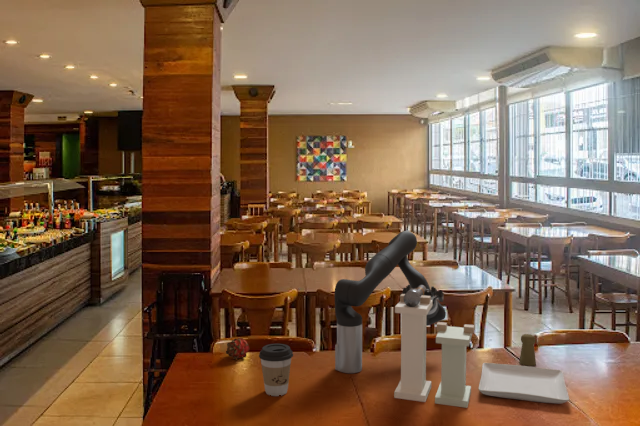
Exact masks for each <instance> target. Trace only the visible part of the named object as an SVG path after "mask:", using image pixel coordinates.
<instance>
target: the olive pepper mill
mask: <svg viewBox="0 0 640 426" xmlns="http://www.w3.org/2000/svg"><path fill="white" fill-rule="evenodd" d="M520 341H521V350H520V355H519V361H518V363H519V365H521V366H529V367H535V366H536V365H537V361H536V352H535V343H536V336H535V335H533V334H531V333H530V334H529V333H524V334H522V335H521V337H520Z"/></svg>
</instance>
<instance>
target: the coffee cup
mask: <svg viewBox="0 0 640 426" xmlns="http://www.w3.org/2000/svg"><path fill="white" fill-rule="evenodd" d="M258 354H259V355H258V358H259V359H260V363H261V369H262V370H261V371H262V377H263V385H264V391H265V393H266V395H268V396H270V395H271V397H280V396H279V395H281V396H284V395H286V394H287V393H288V390H289V381H290V372H291V365H292V363H291V362H292V358H293V357H294V352H293V350H292V349H291V347H290V346H289V345H288V344H285V343H269V344H266V345H264V346H263V347H261V350H260V351H259V353H258Z"/></svg>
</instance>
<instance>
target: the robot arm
mask: <svg viewBox="0 0 640 426" xmlns="http://www.w3.org/2000/svg"><path fill="white" fill-rule="evenodd" d="M417 246H418V239H417V236H416V235H415V234H414V233H413V232H411V231H409V230H403V231H400V232H399V233H397V234H396V235H395V236H394V237H393V238H392V239H391V240H389V242H388V245H387V246H386V247H383V249H381V250H380V251H378V252H377V253H376V254H374V255H373V256H372V257H371V258H370V259H369V260H368V261H367V262H366V265H365V268H364V274H365V276H364V277H363V278H362V279H360V280H353V279H345V278H342V279H339V280H338V281H337V283H336V284H335V288H334V311H335V312H334V313H335V317H336V343H335V346H334V361H335V363H334V365H335V366H334V367H335V368H334V369H335V371H339V372H340V373H344V374H356V373H359V372H361V371H362V370H363V316H362V315H361V314H360V313H359V312H357V311H356V310H354V308H353V307H360V306H362V305H364V303H366V301H367V300H368V299H369V297H370V296H371V295H372V293H373V292H374V291H375V289H376V288H377V287H378V286H379V285H380V284H381V283H382V282H383V281H384V280H385V279H386V278H387V277H388V276H389V275H390V274H391V273H392V272H393V271H394V270H395V268H396V267H397V266H398V268H399V269H400V270H401V272H402V274H403V275H404V277H405V279H406V280H407V283H408V285H406V286H405V287H403V288H402V294H406V293H407V292H408V291H409V290H411V289H416V288H418V286H420V285H424V286H425V287H426V292H425V293H424V295H425V296H431V300H433V306H432V308H431V309H430V311H429V312H428V314H427V321H426V326H430V325H433V324H435V323H436V324H437V322H442V321H444V319H445V318H446V316H447V315H446V314H447V313H446V312H447V311H446V310H445V308H444V306H443V305H442V304H441V303H443V302H444V292H443V290H441V289H440V290H438V289H437V288H436V287H434V285H431V287H430V285H429V283H428V281H427V279H426V277H425V276H424V275H423V274H422V273H421V272H420V271H418V270H417V269H416V268H415V267H414V266H412V264H411V263H410V261H409V258H408V256H409V255H410V253H412V252H413V251H415V249H416V247H417Z"/></svg>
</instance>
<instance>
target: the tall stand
mask: <svg viewBox="0 0 640 426" xmlns="http://www.w3.org/2000/svg"><path fill="white" fill-rule="evenodd" d="M404 295H405V294H403V293H400V296H399V302H398V303H397V304H396V305H395V306H394V313H395V314H400V316H401V319H400V320H401V322H400V323H401V326H400V328H401V329H400V331H401V334H400V335H401V338H400V339H401V341H400V342H401V343H400V380H399V382H398V385H397V386H396V388H395V390H394V392H393V393H394V394H393V396H394V397H393V398H394V399H399V400H401V399H402V400H407V401H414V402H415V401H416V402H421V403H426V401H427V399H428V396H429V395H430V391H431V389H432V381H431V380H427V379H426V378H427V325H426V321H427V314H428V312H429V311H430V309H431V308H432V306H433V300H431V296H425V295H421V300H420V302H419V303H418V305H417V306H415V307H409V306H407V305H406V304H405V303H404Z"/></svg>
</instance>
